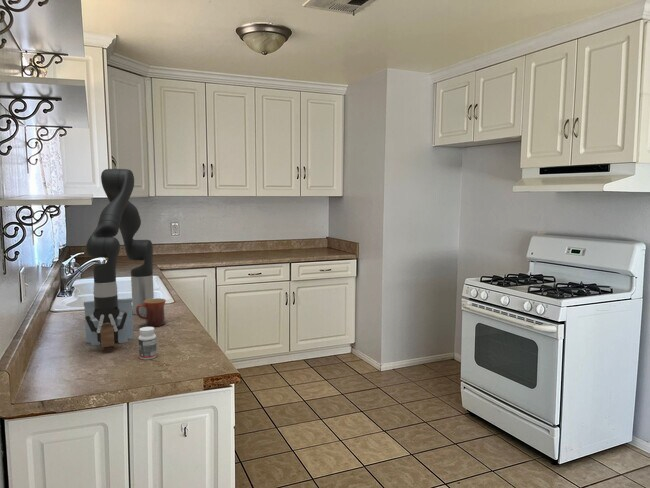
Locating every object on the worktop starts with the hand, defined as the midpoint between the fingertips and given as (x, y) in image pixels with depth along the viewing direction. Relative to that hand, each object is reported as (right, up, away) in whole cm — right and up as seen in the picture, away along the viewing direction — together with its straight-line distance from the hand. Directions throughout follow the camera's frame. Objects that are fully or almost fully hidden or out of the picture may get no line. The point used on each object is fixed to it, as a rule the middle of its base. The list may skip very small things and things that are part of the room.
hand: (108, 341), depth 174 cm
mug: (+5, +1, +30) cm, 30 cm away
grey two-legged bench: (-3, -2, +9) cm, 10 cm away
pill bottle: (+17, -4, -7) cm, 18 cm away
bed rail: (-1, 0, +3) cm, 3 cm away
